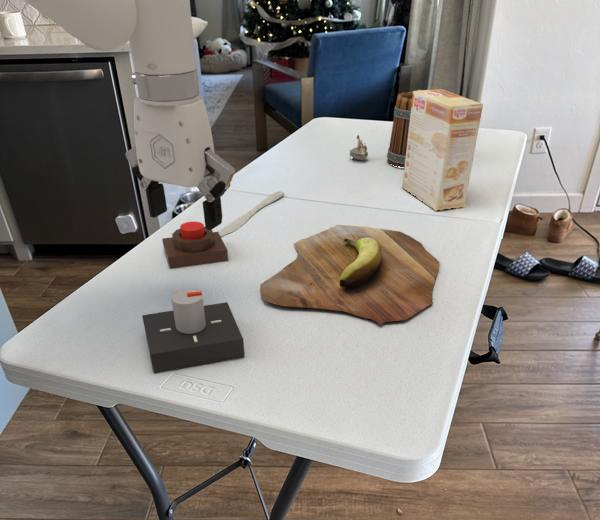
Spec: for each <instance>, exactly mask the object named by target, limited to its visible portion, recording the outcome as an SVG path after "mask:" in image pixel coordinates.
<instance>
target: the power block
mask: <svg viewBox="0 0 600 520" xmlns="http://www.w3.org/2000/svg"><path fill="white" fill-rule="evenodd" d="M204 231H205V236H204V237H202V238H199V239H193V240H189V239H183V238H182V237H181V230H180V228H178V229H176V230H175V231H174V232H173V233H172V234H171V237H163V238H162V239H161V241H162V247H163V251H164V254H165V257H166V261H167V264H168V268H169V269H170V270H172V269H180V268H186V267H194V266H201V265H209V264H216V263H223V262H229V254H228V253H229V251H228V248H227V246H226V243H224V240H223V237H222V236H220V234H219V233H218V232H219V231H213V229H212V230H207V229H206V228H205V226H204Z"/></svg>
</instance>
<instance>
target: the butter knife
mask: <svg viewBox="0 0 600 520" xmlns="http://www.w3.org/2000/svg"><path fill="white" fill-rule="evenodd" d="M284 195H285V192H284V191H275V192H273V193H271V194H270V195H268V196H267V197H266V198H264V199H263V200H261V202H259V203H258V204H257V205H256V206H254V207H253V208H251V209H250V210H249V211H247V212H246V213H244V214H243V215H241V216H239V217H238V218H236V219H235V220H234V221H232V222H231V223H228V224H227V225H226V226H224V227H223V228H222V229H220V230H219V231H217V232H218V233H219V234H220V236H221V237H223V236H226V235H229V234H230V233H233V232H235V231H237V230H238V229H239V228H241V227H242V226H243V225H244V224H245V223H247V221H249V219H250V218H251V217H253V215H255V214H256V213H257V212H258V211H259V210H261V209H263V208H264V207H266V206H268V205H270V204H272V203H274V202H276V201H277V200H278V199H280V198H282V197H283V196H284Z"/></svg>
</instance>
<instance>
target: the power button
mask: <svg viewBox="0 0 600 520" xmlns="http://www.w3.org/2000/svg"><path fill="white" fill-rule="evenodd" d="M204 227H205V224H204V223H203V222H200V221H187V222H183V223H181V224H180V226H179V229H180V230H181V237H182V238H183V239H189V240H193V239H199V238H202V237H204V236H205V231H204Z"/></svg>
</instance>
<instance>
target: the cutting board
mask: <svg viewBox="0 0 600 520" xmlns="http://www.w3.org/2000/svg"><path fill="white" fill-rule="evenodd" d="M293 245H294V248H295V250H296V252H297V256H296V259H294V260H293V261H291V262H290V263H288V264H287V265H286V266H284V268H282V269H281V270H279V271H278V272H276V273H275V274H274V275H272V276H271V277H269V278H268V279H266V280H265V281H264V282H262V283H260V285H259V289H260V296H261V298H262V299H263V300H264V301H265V302H266V303H269V304H274V305H277V306H281V307H291V308H292V307H293V308H307V309H321V310H331V311H337V312H338V311H339V312H345V313H348V314H351V315H354V316H357V317H359V318H363V319H370V320H372V321H373V322H376V323H377V324H378V325H380V326H381V325H382V324H384V323H389V322H399V321H406V320H408V319H410V318H411V317H413V316H414V315H416V314H417V313H419V312H420V311H422V310H423V309H425V308H426V307H427V308H428V307H429V306H430V305H432V304H434V302H433V290H434V286H435V281H436V278H437V275H438V273H439V270H440V264H441V263H440V262H441V261H440V260H438V259H437V258H436V257H435V256H434V255H432V253H430V252H429V251H428V250H427V249H426V248H425V246H424V245H423V244H422V242H421V241H418V240H417V239H415V238H414V237H412V236H410V235H408V234H406V233H405V232H402V231H399V230H392V229H386V228H379V227H369V226H359V225H343V224H336V225H334V226H332V227H330V228H327V229H325V230H322V231H319V232H318V233H316V234H313V235H310V236H308V237H306V238H305V237H304V238H301V239H299V240H297V241H296V242H295V243H293Z"/></svg>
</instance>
